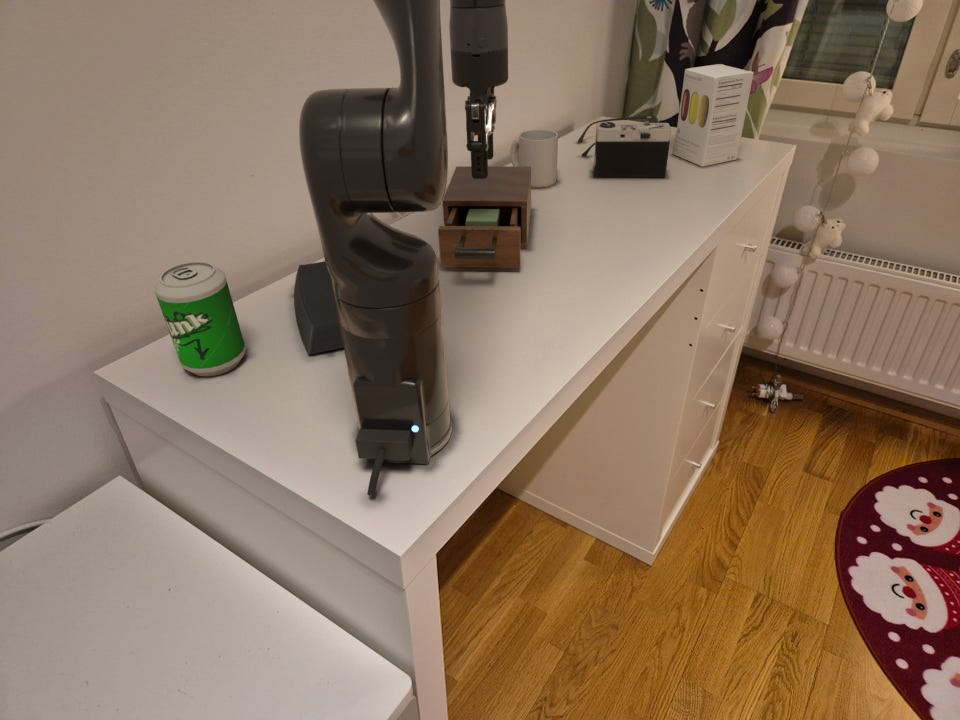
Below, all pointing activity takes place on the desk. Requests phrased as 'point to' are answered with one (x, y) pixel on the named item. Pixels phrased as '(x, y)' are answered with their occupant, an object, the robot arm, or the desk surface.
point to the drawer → (481, 240)
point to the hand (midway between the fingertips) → (483, 168)
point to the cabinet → (492, 192)
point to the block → (483, 217)
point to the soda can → (200, 318)
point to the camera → (631, 150)
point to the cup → (537, 155)
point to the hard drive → (316, 309)
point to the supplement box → (712, 114)
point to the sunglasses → (651, 117)
